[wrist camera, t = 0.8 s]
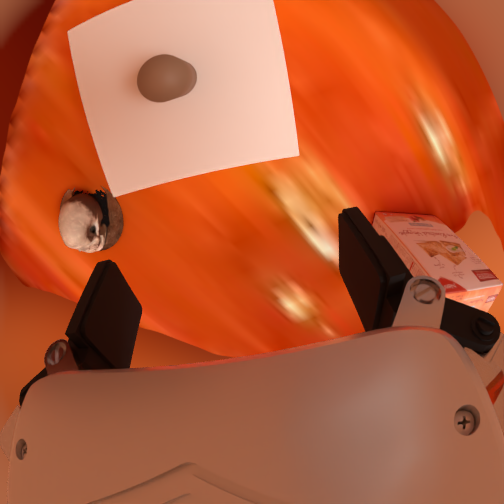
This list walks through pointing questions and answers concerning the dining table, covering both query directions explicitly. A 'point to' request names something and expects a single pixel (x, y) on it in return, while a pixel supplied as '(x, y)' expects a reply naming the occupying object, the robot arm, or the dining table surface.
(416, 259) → the cracker box
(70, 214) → the skull
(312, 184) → the dining table surface
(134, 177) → the cover
